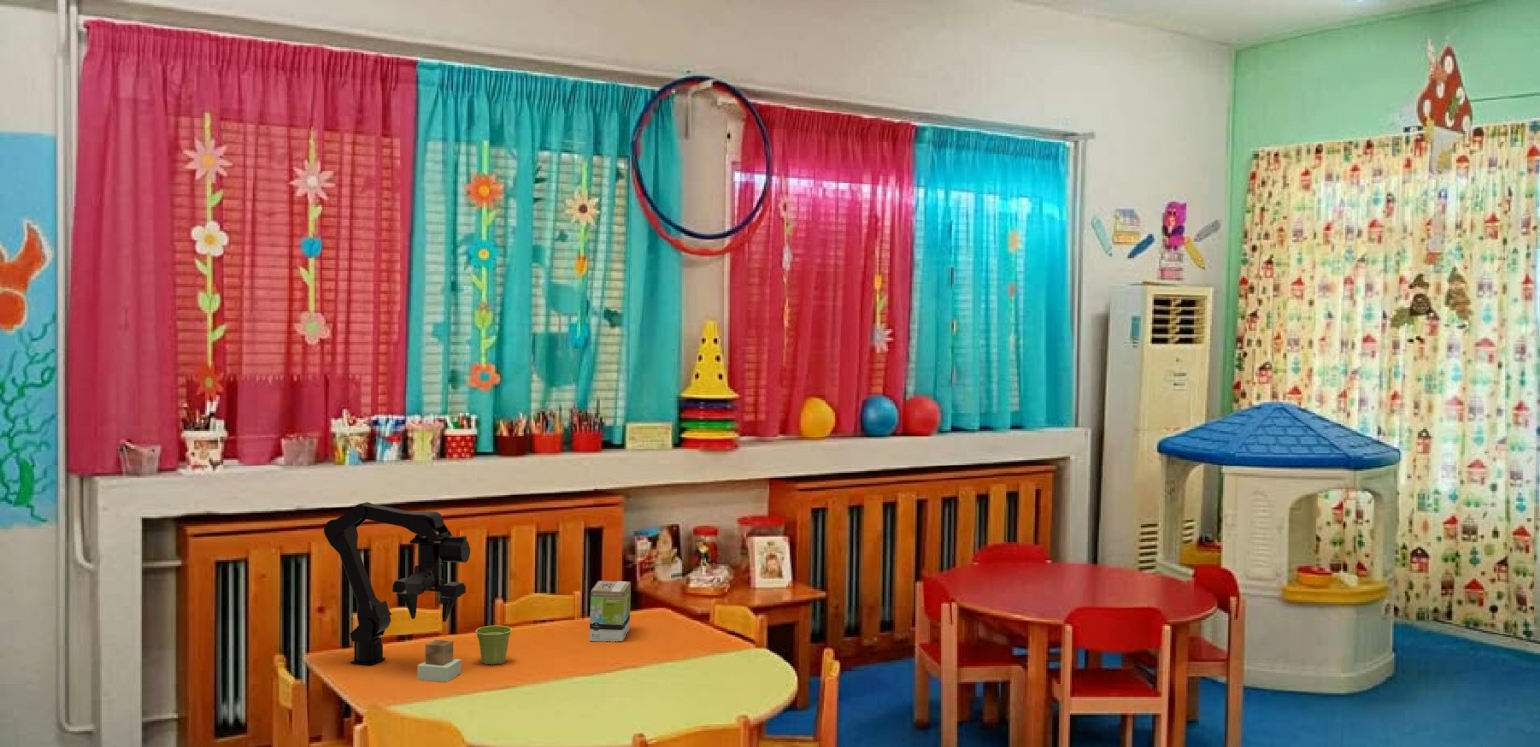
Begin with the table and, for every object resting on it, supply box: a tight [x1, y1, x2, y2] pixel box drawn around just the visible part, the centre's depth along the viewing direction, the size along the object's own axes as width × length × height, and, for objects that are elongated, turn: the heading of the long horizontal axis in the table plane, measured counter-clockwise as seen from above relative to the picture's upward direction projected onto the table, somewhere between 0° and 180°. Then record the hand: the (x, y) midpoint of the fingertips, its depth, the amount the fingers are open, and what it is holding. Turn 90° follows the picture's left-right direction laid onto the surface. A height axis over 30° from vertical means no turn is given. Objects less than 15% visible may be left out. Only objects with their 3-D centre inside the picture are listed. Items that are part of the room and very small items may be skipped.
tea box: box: [588, 580, 632, 643], centre depth 369 cm, size 15×10×15 cm
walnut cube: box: [424, 639, 454, 666], centre depth 324 cm, size 5×5×5 cm
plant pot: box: [475, 625, 513, 666], centre depth 339 cm, size 9×9×9 cm
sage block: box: [417, 658, 462, 683], centre depth 324 cm, size 8×8×4 cm
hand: (428, 620), depth 334 cm, fingers open, 9 cm apart
